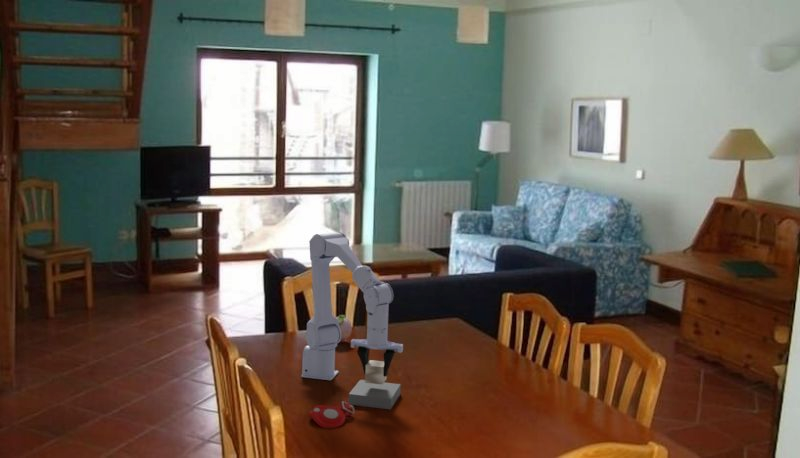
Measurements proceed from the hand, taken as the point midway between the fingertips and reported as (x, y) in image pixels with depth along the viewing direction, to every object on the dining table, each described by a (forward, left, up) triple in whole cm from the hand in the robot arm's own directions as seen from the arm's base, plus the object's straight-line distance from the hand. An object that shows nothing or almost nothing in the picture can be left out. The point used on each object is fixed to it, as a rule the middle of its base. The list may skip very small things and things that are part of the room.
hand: (375, 374), depth 224 cm
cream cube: (0, 0, -2) cm, 2 cm away
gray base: (0, 0, -7) cm, 7 cm away
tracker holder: (-6, -18, -8) cm, 21 cm away
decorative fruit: (-25, +48, -8) cm, 55 cm away
